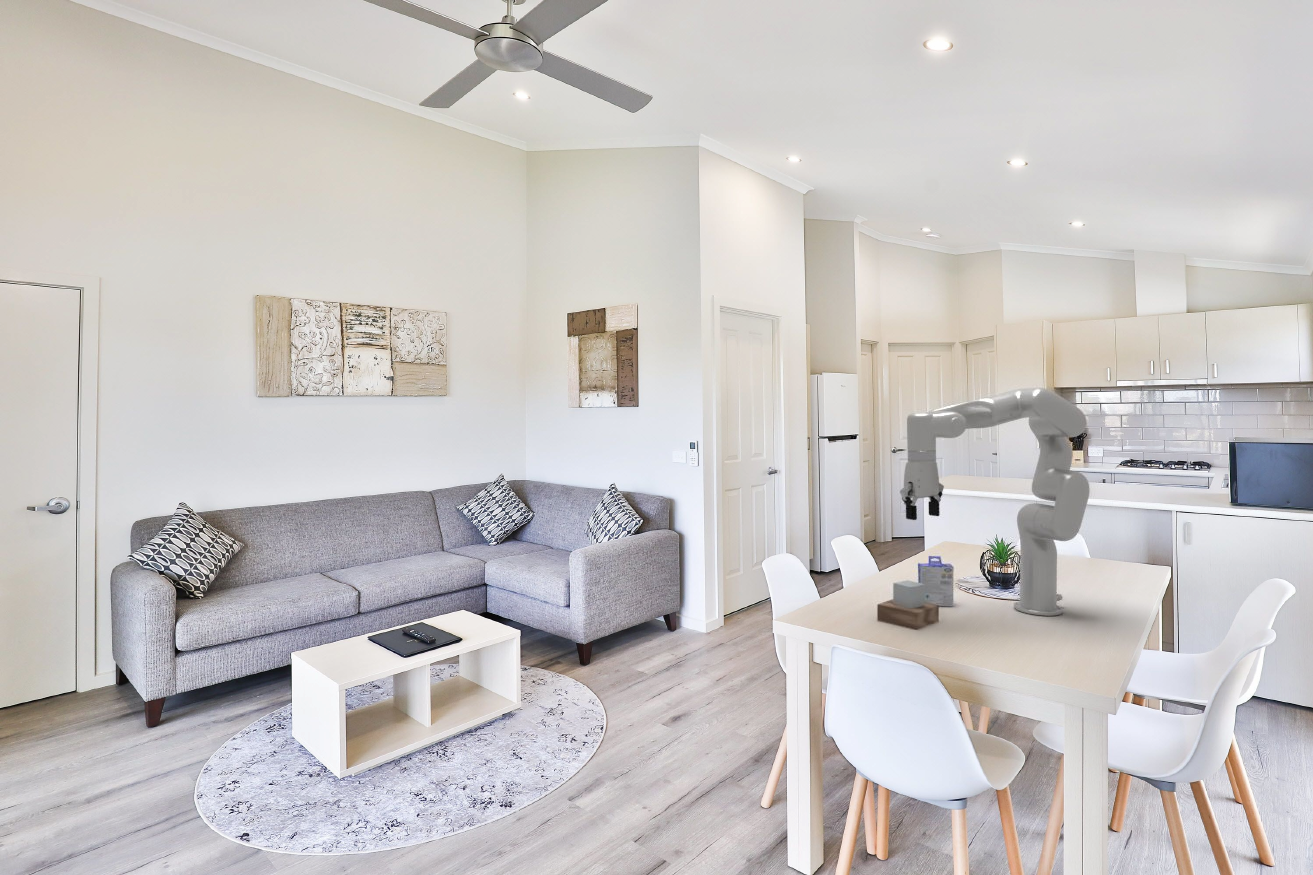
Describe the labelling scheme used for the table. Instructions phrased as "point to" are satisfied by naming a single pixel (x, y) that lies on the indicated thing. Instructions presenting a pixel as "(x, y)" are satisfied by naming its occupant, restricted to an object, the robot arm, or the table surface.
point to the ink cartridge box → (937, 581)
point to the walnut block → (908, 614)
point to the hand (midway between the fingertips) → (922, 517)
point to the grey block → (909, 594)
